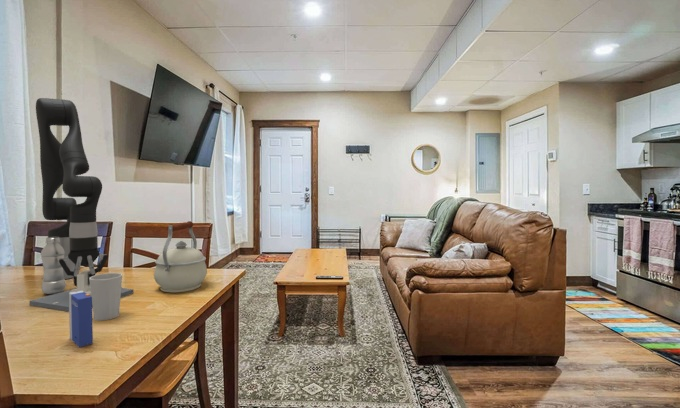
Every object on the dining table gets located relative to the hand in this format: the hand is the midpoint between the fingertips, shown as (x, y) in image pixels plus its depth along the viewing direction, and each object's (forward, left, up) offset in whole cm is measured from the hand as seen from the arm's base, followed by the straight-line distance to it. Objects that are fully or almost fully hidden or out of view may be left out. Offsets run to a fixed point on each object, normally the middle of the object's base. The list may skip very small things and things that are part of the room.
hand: (84, 285), depth 114 cm
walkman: (+30, -23, -5) cm, 38 cm away
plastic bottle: (-16, +1, -5) cm, 17 cm away
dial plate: (0, 0, -5) cm, 5 cm away
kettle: (+20, +23, -5) cm, 31 cm away
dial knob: (+1, -2, -3) cm, 4 cm away
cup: (+21, -9, -5) cm, 24 cm away
